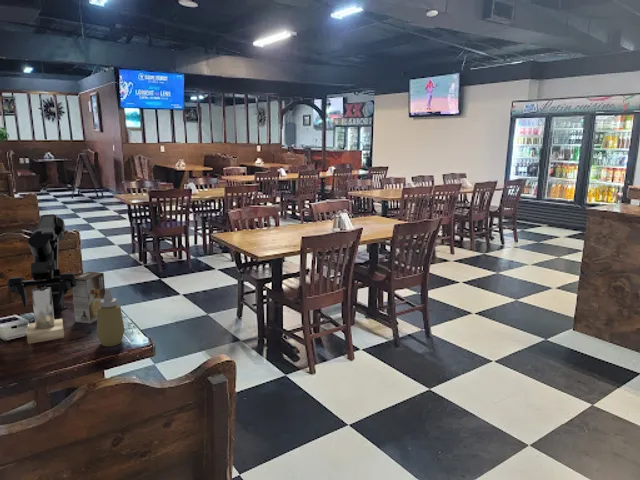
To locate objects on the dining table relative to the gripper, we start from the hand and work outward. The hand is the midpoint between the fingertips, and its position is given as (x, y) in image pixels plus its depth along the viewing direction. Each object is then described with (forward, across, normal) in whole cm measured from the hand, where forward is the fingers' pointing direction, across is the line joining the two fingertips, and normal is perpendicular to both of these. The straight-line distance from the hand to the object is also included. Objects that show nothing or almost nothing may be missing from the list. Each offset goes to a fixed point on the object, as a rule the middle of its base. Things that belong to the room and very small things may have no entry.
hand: (42, 306), depth 147 cm
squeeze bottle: (+16, +20, -1) cm, 26 cm away
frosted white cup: (+4, 0, +6) cm, 8 cm away
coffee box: (-1, +13, +16) cm, 21 cm away
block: (+6, 0, +8) cm, 11 cm away
